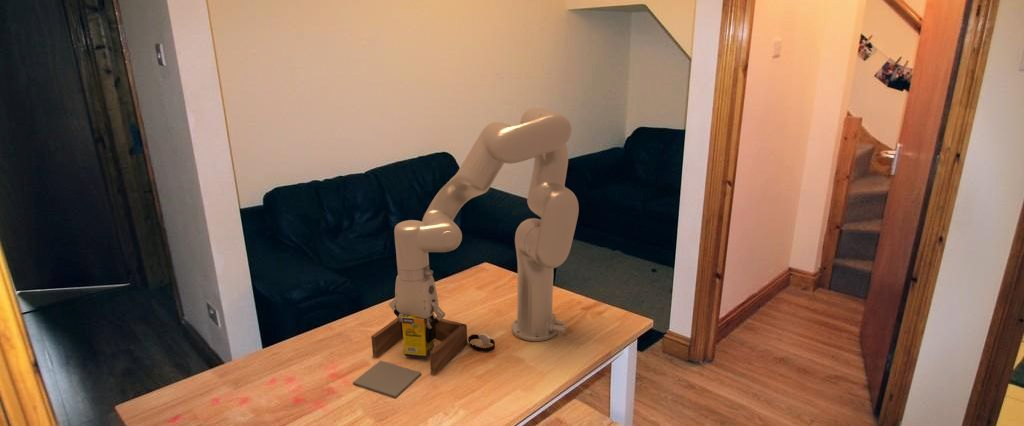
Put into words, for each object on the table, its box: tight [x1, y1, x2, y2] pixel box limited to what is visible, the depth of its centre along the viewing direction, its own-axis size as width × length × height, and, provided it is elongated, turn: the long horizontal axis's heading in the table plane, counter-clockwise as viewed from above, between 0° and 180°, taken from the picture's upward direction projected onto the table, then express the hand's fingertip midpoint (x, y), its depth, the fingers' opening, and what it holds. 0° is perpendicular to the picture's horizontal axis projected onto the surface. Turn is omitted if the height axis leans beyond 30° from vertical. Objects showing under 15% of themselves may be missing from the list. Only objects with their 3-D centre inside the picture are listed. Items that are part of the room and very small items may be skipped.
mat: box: [352, 360, 422, 399], centre depth 125 cm, size 12×10×1 cm
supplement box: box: [402, 314, 435, 359], centre depth 134 cm, size 6×6×11 cm
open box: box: [371, 316, 468, 377], centre depth 136 cm, size 18×15×6 cm
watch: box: [467, 332, 496, 353], centre depth 138 cm, size 8×5×4 cm, turn 61°
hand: (418, 336), depth 134 cm, fingers closed on supplement box, 6 cm apart
